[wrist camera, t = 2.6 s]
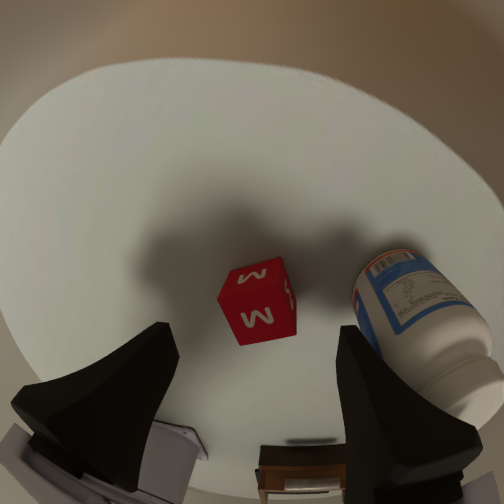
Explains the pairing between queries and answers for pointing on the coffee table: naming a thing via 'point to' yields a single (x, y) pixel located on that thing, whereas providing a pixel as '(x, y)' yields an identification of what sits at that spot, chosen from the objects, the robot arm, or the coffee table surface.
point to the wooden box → (301, 479)
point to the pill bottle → (429, 335)
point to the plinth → (302, 456)
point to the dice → (259, 302)
